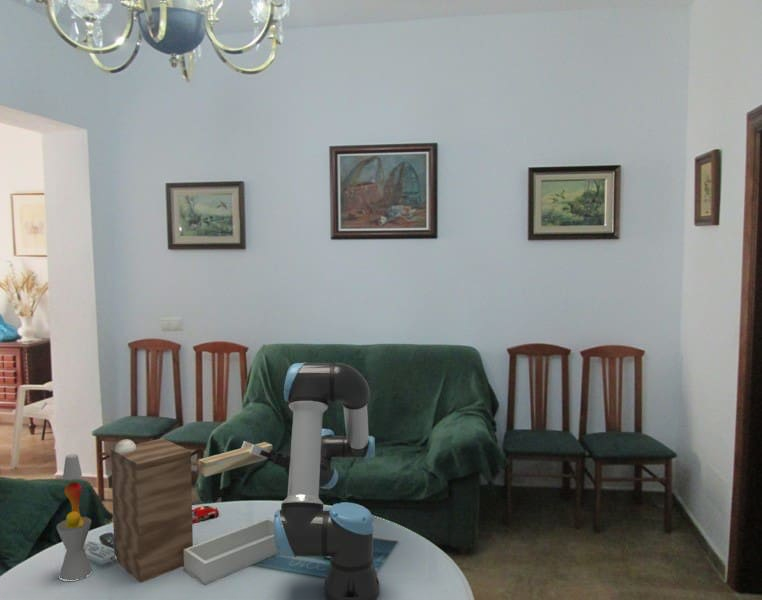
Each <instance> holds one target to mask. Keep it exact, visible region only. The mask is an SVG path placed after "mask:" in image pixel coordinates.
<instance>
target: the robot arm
mask: <svg viewBox="0 0 762 600" xmlns="http://www.w3.org/2000/svg"><path fill="white" fill-rule="evenodd" d="M368 384H369V383H368V382H367V380H366V379H365V377H364V376H363V375H362V373H360V372H359V371H358V370H357V369H356V368H354V367H353V366H351V365H349V364H346V363H343V362H307V361H306V362H298V363H297V362H296V363H293V364H291V365H290V366H289V368H288V369H287V373H286V376H285V379H284V387H283V398H284V401H285V402H287V403H288V408H289V409H290V410H291V412H292V413H293V414H292V415H293V416H292V428H291V441H290V445H291V446H290V455H287V454H285V453H283V454H282V453H280V452H275V449H272V450H271V452H270V451H269V450H267V449H264V448H262V447H259V446H257V445H256V444H253V443H251V442H249V441H245V440H243V443H242V445H241V447H240V449H241V448H244V447H248V446H252V447H251V450H250V452H249V453H251V454H254V455H256V456H259V457H262V458H264V459H265V460H268V461H271V462H272V464H275V465H277V466H278V467H281V468H283V469H284V472H285V474H286V475H287V476H288V485H287V496H286V497H285V499H284V500H283V501H282V502H281V506H280V509H277V510H275V512H274V515H273V517H274V519H273V520H274V538H275V544H276V548H277V551H278V552H279V553H278V554H280V556H283V557H294V558H297V557H316V558H317V557H322V558H323V557H330V558H329V561H330V563H329V568H328V570H327V576H326V579H325V580H324V582H323V583H324V584H323V595H324V598H325V599H326V600H376V599H377V598H378V597H379V595H380V580H379V578H378V575H377V572H376V571H377V570H376V569H375V566H374V565H375V564H374V539H373V538H374V534H373V533H374V531H375V529H374V523H373V520H374V519H373V514H372V513H371V511H370V510H369V509H368V508H366V507H365V506H363V505H360V504H358V503H354V502H339V503H333V505H331V506H330V509H329V510H324V502H323V501H322V500H321V499H320V498H319V497H320V496H319V495H320V494H319V493H320V491H319V490H320V488H321V489H324V490H330V489H332V488H334V487H335V485H336V484H337V483H338V480H339V473H338V471H337V469H336V468H335V467H333V459H362V460H363V459H364V460H365V459H372V458H374V457H375V454H376V451H375V450H376V445H375V444H376V442H375V441H376V440H375V436H372V435H369V418H368V417H369V416H368V404H369V402H370V399H371V390H370V387H369V385H368ZM336 402H338V403H340V405H341V406H342V407H343V415H344V425H345V426H344V427H345V435H335V432H334V431H333V430H331V429H329V428H328V429H327V428H323V415H324V412H326V411H327V410H328V409H329V403H336ZM269 452H270V453H269ZM267 457H268V459H267Z"/></svg>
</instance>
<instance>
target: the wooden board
mask: <svg viewBox="0 0 762 600" xmlns="http://www.w3.org/2000/svg"><path fill="white" fill-rule="evenodd" d="M255 445H257V446H259V447H262V448H264V449H267V450H269V451H270V452H271V450H273V444H271V443H269V442H266V441H263V442H261V443H260V442H259V443H256V444H255ZM251 447H252V446H248V447H244V448H241V447H240V448H238V449H234V450H230V451H227V452H223V453H219V454H214V455H210V456H207V457H204V458H200V459H197V460H198V461H197V462H198V463H197V467H198V470H197V471H198V474H199V475H201V476H203V477H204V478H207V477H210V476H213V475H217V474H220V473H223V472H228V471H231V470H234V469H238V468H240V467H245V466H247V465H251V464H254V463H259V462H262V461H265V460H268V457H267V459H264V458H262V457H259V456H256V455H254V454H251V453H249V452H250V450H251ZM270 452H269V453H270Z"/></svg>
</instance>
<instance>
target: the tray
mask: <svg viewBox="0 0 762 600" xmlns="http://www.w3.org/2000/svg"><path fill="white" fill-rule="evenodd" d="M277 553H278V554H279V552H278V551H277V548H276V544H275V538H274V519H272V518H270V517H268V518H266V519H263V520H260V521H257V522H255V523H251V524H249V525H245V526H243V527H240V528H238V529H234V530H233V531H230V532H227V533H225V534H222V535H219V536H217V537H214V538H211V539H209V540H205V541H203V542H200V543H197V544H195V545H194V544H193V546H192V547H189V548H186V549H184V566H183V569H184V571H186V572H187V573H188V574H190V575H191V576H193V577H194V578H195V579H197V580H198V581H199V582H200V583H202V584H203V585H208V584H210V583H213V582H214V581H218V580H219V579H223V578H225V577H226V576H228V575H229V576H230V575H231V574H234V573H236V572H238V571H241V570H243V569H246V568H248V567H251V566H253V565H256V564H257V563H259V562H262V561H264V560H267V559H268V557H269V558H272V557H274V556H275V554H276V555H278V554H277ZM273 555H274V556H273ZM266 558H267V559H266Z"/></svg>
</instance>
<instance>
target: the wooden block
mask: <svg viewBox="0 0 762 600" xmlns="http://www.w3.org/2000/svg"><path fill="white" fill-rule="evenodd" d="M110 454H111V456H110V458H111V459H110V460H111V462H110V463H111V484H112V485H111V487H112V488H111V490H112V492H111V493H112V522H113V524H112V525H113V550H114V551H113V552H114V553H113V555H114V554H115V555H116V557H117V561H118V563H119V564H120V565H119V564H118V563H117V564H118V565H119V566H120V567H122V568H123V569H124V570H125V569H126V570H125V571H126V572H128V573H129V574H130V575H131V576H132V577H133V578H135V579H136V580H137V581H138V582H139V583H143V582H145V581H149V580H151V579H154V578H156V577H158V576H161V575H163V574H166V573H169V572H172V571H174V570H176V569H179V568H182V567H184V549H186V548H189V547H192V546H194V541H193V540H194V537H193V530H194V529H193V523H192V510H193V496H192V495H193V493H192V492H193V490H192V489H193V488H192V451H191V450H190V449H188V448H185V447H183V446H181V445H179V444H176V443H174V442H172V441H170V440H167V439H165V438H162V437H161V438H158V439H154V440H148V441H144V442H140V443H139V442H138V443H135V442H134V441H133V440H131V439H121V440H119V442H117V443H116V445H115V446H114V448H112V449H111V451H110Z"/></svg>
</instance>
